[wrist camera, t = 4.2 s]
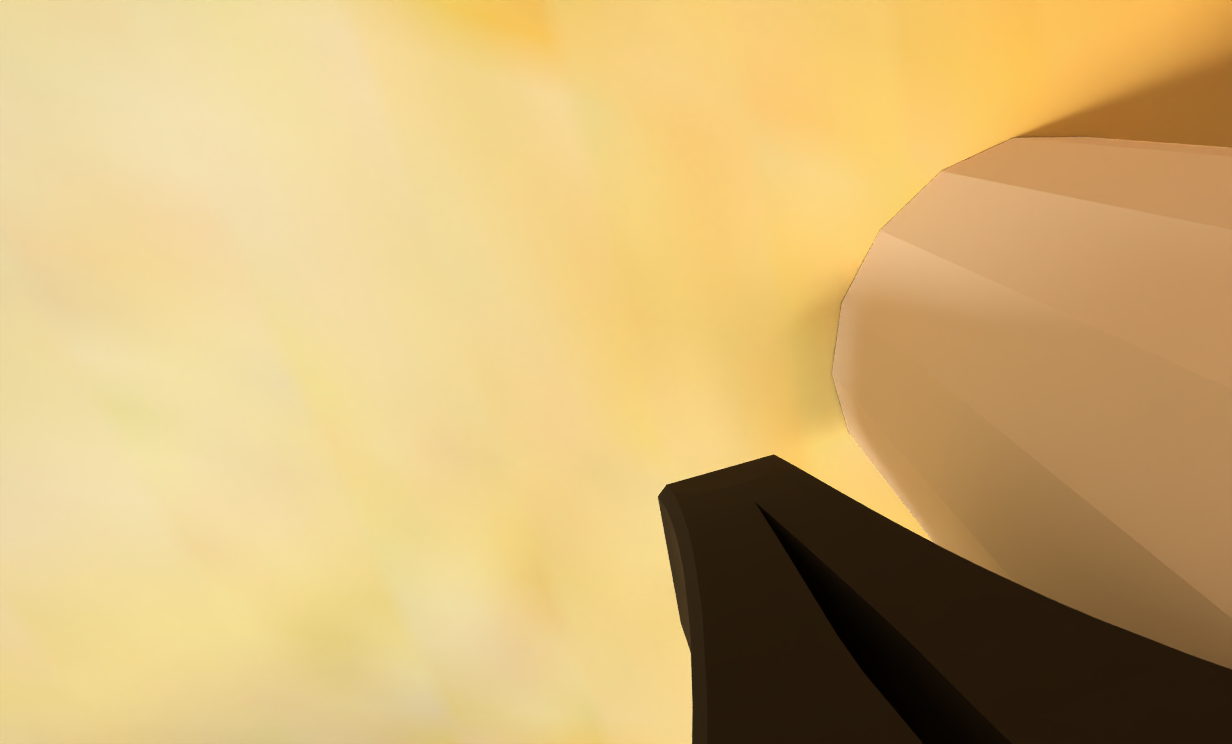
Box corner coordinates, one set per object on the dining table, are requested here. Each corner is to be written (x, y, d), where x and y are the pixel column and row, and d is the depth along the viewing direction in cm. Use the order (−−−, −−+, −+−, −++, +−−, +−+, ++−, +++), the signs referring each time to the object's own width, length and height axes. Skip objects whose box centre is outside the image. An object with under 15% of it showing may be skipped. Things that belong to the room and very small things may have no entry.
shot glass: (897, 589, 14) (1287, 1059, 8) (707, 282, 11) (1108, 663, 5) (1241, 361, 14) (1937, 662, 7) (1150, -26, 10) (2229, -61, 4)
